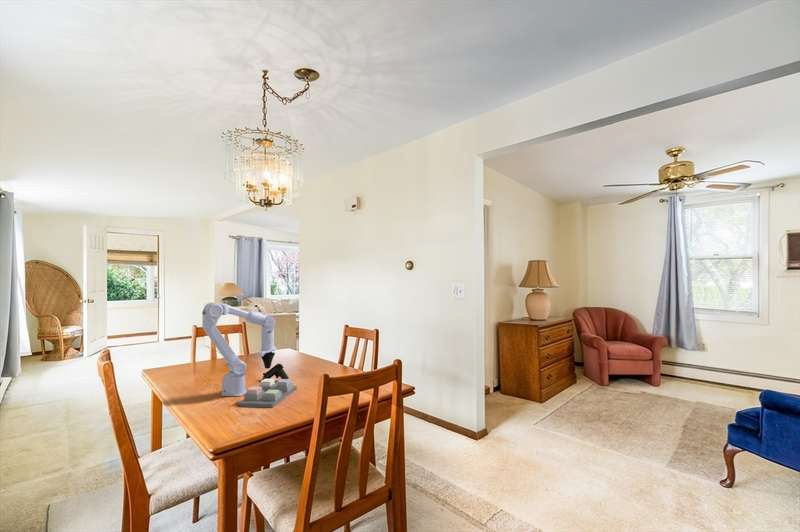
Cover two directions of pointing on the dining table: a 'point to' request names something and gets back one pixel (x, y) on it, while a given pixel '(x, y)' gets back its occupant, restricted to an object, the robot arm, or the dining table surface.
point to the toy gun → (276, 372)
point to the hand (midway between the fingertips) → (267, 368)
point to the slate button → (284, 382)
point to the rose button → (254, 390)
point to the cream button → (267, 382)
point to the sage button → (271, 392)
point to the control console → (267, 396)
